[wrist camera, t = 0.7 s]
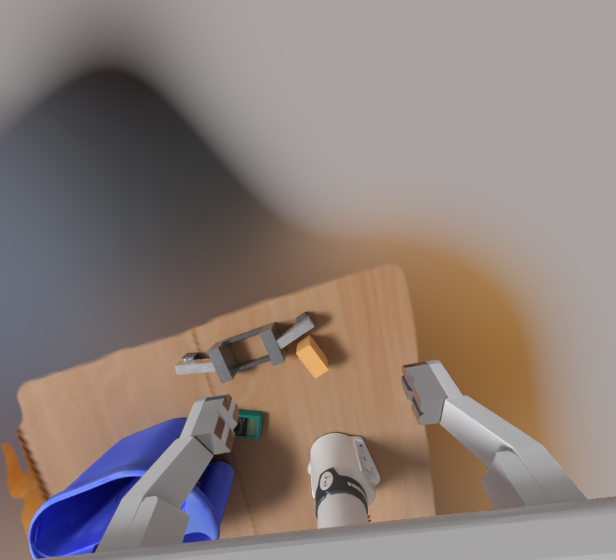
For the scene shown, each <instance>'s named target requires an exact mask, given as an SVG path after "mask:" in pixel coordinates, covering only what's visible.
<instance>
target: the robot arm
mask: <svg viewBox="0 0 616 560" xmlns="http://www.w3.org/2000/svg"><path fill="white" fill-rule="evenodd" d="M402 372H403V374H404V375H403V376H402V385H403V389H404V391H405V394H406V396H407V398H408V399H409V400H410V401H411V402H412V410H413V412H414V415H415V417H416V419H417V421H418V424H419V425H424V424H433V423H440V424H441V425H442V426H443V427H444V428H445V429H446V430H447V431H448V432H449V433H451V434H452V435H453V436H454V437H455V438H456V439H457V440H458V441H459V442H461V444H463V445H464V446H465V447H466V448H467V449H468V450H469V451H470V452H471V453H472V454H473V455H475V456H476V457H477V458H478V459H479V460H480V461H481V462H482V463H483V464H484V465H486V466H487V467H488V469H487V471H486V473H485V475H484V477H483V479H482V482H481V484H482V486H483V488H484V490H485V492H486V494H487V496H488V497H489V499H490V501H491V503H492V505H493V507H494V509H495V510H485V511H476V512H467V513H458V514H449V515H439V516H430V517H421V518H411V519H402V520H393V521H384V522H374V523H369V522H370V521H371V520H368V519H369V518H370V515H368V506H369V505H370V504H371V503H372V502H373V501H374V499H375V497H376V491H375V486H376V485H377V484H378V483H379V481H380V475H379V472H378V470H377V468H376V466H375V464H374V461H373V459H372V457H371V455H370V453H369V451H368V449H367V446H366V444H365V442H364V440H363V438H362V437H359V436H348V435H345V434H341V433H330V434H326V435H324V436H322V437H320V438H319V439H318V440H316V441H315V443H314V444H313V446H312V448H311V452H310V462H309V464H308V473H309V474H310V475H311V483H312V494H313V497H314V498H315V510H316V517H317V520H318V529H310V530H300V531H291V532H282V533H273V534H263V535H254V536H245V537H236V538H226V539H217V540H208V541H199V542H190V543H182V542H183V539H184V535H185V532H186V528H187V525H188V521H189V515H188V514H187V513H185V512H184V511H182V510H180V508H181V506H182V504H183V503H184V501H185V500H186V498H187V497H188V495H189V494H190V492H191V490H192V489H193V487H194V486H195V484H196V483H197V481H198V480H199V478H200V476H201V475H202V473H203V472H204V470H205V469H206V467H207V466H208V464H209V462H210V461H211V459H212V458H213V455H215V454H221V453H227V452H231V450H232V446H233V442H234V437H235V434H234V431H233V429H234V428H235V427H236V425H237V424H238V419H239V409H238V406H237V404H236V403H234V402H232V401H231V400H232V397H231V396H230V395H229V394H227V395H221V396H215V397H207V398H201V399H197V400H196V401H195V403H194V405H193V407H192V409H191V412H190V414H189V416H188V419H187V421H186V424H185V426H184V428H183V431H182V433H181V435H180V438H179V439H176V440H175V441H174V442H173V443H172V444H171V445H170V446H169V448H168V449H167V450H166V451H165V452H164V453H163V454H162V455H161V456H160V457H159V459H158V460H157V461H156V462H155V463H154V464H153V465H152V466H151V467H150V469H149V470H148V471H147V472H146V473H145V474H144V475H143V476H142V477H141V479H140V480H139V481H138V482H137V483H136V484H135V485H134V486H133V487H132V488H131V490H130V491H129V492H128V493H127V494H126V495H125V496H124V497H123V498H122V500H121V502H120V504H119V506H118V508H117V510H116V512H115V514H114V516H113V518H112V520H111V522H110V524H109V526H108V527H107V529H106V531H105V533H104V535H103V537H102V539H101V541H100V543H99V545H98V547H97V549H96V551H95V553H88V554H79V555H69V556H60V557H51V558H42V559H32V560H616V496H615V497H606V498H596V499H587V498H586V497H585V496H584V495H583V493H582V492H581V491H580V490H579V489H578V488H577V486H576V485H575V484H574V483H573V481H572V480H571V479H570V478H569V477H568V475H567V474H566V473H565V472H564V470H563V469H562V468H561V467H560V466H559V464H558V463H557V462H556V461H555V459H554V458H553V457H552V456H551V455H550V453H549V452H548V451H547V450H546V449H545V447H544V446H543V445H542V444H540V443H539V442H537V441H536V440H534V439H533V438H531V437H529V436H528V435H526V434H525V433H523V432H522V431H520V430H519V429H517V428H516V427H514V426H513V425H511V424H509V423H508V422H506V421H505V420H504V419H502V418H500V417H499V416H497V415H496V414H494V413H493V412H491V411H490V410H488V409H487V408H485V407H483V406H482V405H480V404H479V403H478V402H476V401H475V400H473V399H471V398H470V397H468V396H467V395H466V396H463V395H462V394H461V392H460V391H459V389H458V388H457V386H456V385H455V383H454V382H453V380H452V379H451V377H450V376H449V374H448V373H447V371H446V370H445V368H444V367H443V365H442V364H441V362H440V361H438V360H432V361H426V362H419V363H413V364H408V365H403V366H402ZM367 515H368V516H367Z"/></svg>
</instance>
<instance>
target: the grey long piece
mask: <svg viewBox="0 0 616 560" xmlns="http://www.w3.org/2000/svg"><path fill="white" fill-rule="evenodd" d="M296 322H297V324H296V325H294V326H293V327H291V328H290V329H288V330H287V331H285V332H284V333H283V334H281V335H280V334H279V332H278V329H277V327H276V325H275V322H273V323H271V324H268V325H265V326H262V327H259V328H256V329H254V330H251V331H248V332H245V333H242V334H239V335H237V336H234V337H231V338H228V339H225V340H222V341H220V342H217V343H215V344H214V345H213V346H212V347H211V348H210V349H209V350H208V351H207V353H208V355H209V357H210V358H209V359H199V356H198V353H187V354H186V355H185V356H183V357H182V360H183V361H180V362H179V363H178V364H176V365H175V368H176V373H177V374H190V373H202V372H215V371H216V372H217V374H218V376H219V379H220V381H221V383H224V382H227V381H230V380H233V378H234V376H235V375H236V373H237V372H238V371H241V370H244V369H247V368H249V367H252V366H255V365H258V364H261V363H264V362H267V361H270V360H271V362H272V364H273V366H274V365H277V364H280V363H283V362H285V358H286V354H287V352H286V349H285V346H286V345H288V344H289V343H291V342H292V341H294V340H295V339H297V338H298V337H300V336H301V335H303V334H304V333H306V332H307V331H309V330H310V329H312V328H313V327H314V322H313V321H312V320H311V318H310V317H309V316H308V314H307V313H306V312H304V313H303V314H301V315H300V316H298V317H297V318H296ZM258 333H260V336H261V338H262V340H263V343H264V345H265V347H266V350H267V352H268V355H266V356H263V357H261V358H258V359H255V360H252V361H249V362H246V363H243V364H240V365H237V363H236V360H235V358H234V356H233V354H232V351H231V349H230V347H229V345H228V344H230V343H233V342H235V341H238V340H241V339H244V338H247V337H250V336H253V335H255V334H258Z"/></svg>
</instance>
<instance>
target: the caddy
mask: <svg viewBox="0 0 616 560" xmlns="http://www.w3.org/2000/svg"><path fill="white" fill-rule="evenodd" d="M187 419H188V418H178V419H172V420H168V421H166V422H163V423H161V424H158V425H155V426H153V427H150V428H148V429H145V430H143V431H141V432H138V433H136V434H133V435H131V436H128V437H126V438H124V439H122V440H120V441H119V442H117V443H116V444H115V445H114V446H113V447H112V448H110V449H109V450H108V451H107V452H106V453H105V454H104V455H103V456H102V457H100V458H99V459H98V460H97V461H96V462H95V463H94V464H93V465H92V466H90V467H89V468H88V469H87V470H86V471H85V472H84V473H83V474H82V475H81V476H79V477H78V478H77V479H76V480H75V481H74V482H73V483H72V484H71V485H70V486H69V487H67V488H66V489H65V490H64V491H62V492H60V493H58V494H56V495H54V496H53V497H51V498H50V499H49V500H48V501H46V502H45V503H44V504H43V505H42V506H41V507H40V509H39V510H38V511H37V512H36V514H35V516H34V517H33V520H32V522H31V525H30V529H29V546H30V551H31V554H32V557H33V559H42V558H51V557H60V556H69V555H79V554H88V553H95V551H96V549H97V547H98V545H99V543H100V541H101V539H102V537H103V535H104V533H105V531H106V529H107V527H108V526H109V524H110V522H111V520H112V518H113V516H114V514H115V512H116V510H117V508H118V506H119V504H120V502H121V500H122V498H123V497H124V496H125V495H126V494H127V493H128V492H129V491H130V490H131V488H132V487H133V486H134V485H135V484H136V483H137V482H138V481H139V480H140V479H141V477H142V476H143V475H144V474H145V473H146V472H147V471H148V470H149V469H150V467H151V466H152V465H153V464H154V463H155V462H156V461H157V460H158V459H159V457H160V456H161V455H162V454H163V453H164V452H165V451H166V450H167V449H168V448H169V446H170V445H171V444H172V443H173V442H174V441H175V440H176V439H179V438H180V435H181V433H182V431H183V428H184V426H185V424H186V421H187ZM233 479H234V470H233V468H232V466H231V465H230V464H228V463H226V462H222V461H218V462H214V463H212V464H210V465H208V466H207V467H206V469H205V470H204V472H203V473H202V475H201V476H200V478H199V480H198V481H197V483H196V484H195V486H194V487H193V489H192V490H191V492H190V494H189V495H188V497H187V498H186V500H185V501H184V503H183V504H182V506H181V508H180V510H182V511H184V512H185V513H187V514H188V515H189V521H188V525H187V528H186V532H185V535H184V539H183V542H182V543H190V542H199V541H208V540H217V539H219V536H220V524H221V521H222V517H223V514H224V511H225V507H226V504H227V500H228V497H229V493H230V490H231V486H232V483H233Z"/></svg>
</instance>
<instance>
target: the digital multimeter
mask: <svg viewBox="0 0 616 560" xmlns="http://www.w3.org/2000/svg"><path fill="white" fill-rule="evenodd" d="M261 428H262V412H259V411H246V410H239V419H238V424H237V425H236V427H235V428H234V429H233V431H234V434H235V436H236V437H243V438H251V439H259V437H260V433H261Z"/></svg>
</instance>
